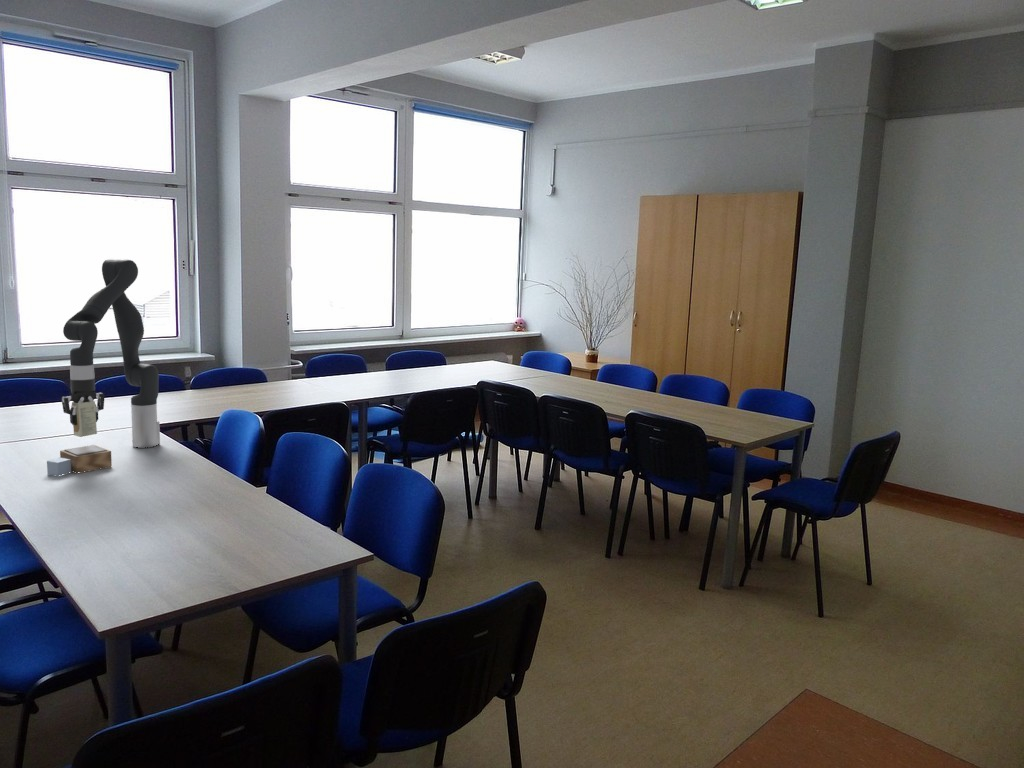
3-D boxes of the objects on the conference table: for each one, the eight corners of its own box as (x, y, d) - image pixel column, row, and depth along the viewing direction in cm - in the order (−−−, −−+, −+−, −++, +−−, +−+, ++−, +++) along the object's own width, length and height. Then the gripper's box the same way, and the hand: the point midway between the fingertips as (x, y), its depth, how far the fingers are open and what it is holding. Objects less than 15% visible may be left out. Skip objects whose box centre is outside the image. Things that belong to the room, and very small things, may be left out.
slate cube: (60, 471, 265) (59, 457, 264) (71, 473, 264) (70, 459, 263) (47, 474, 261) (46, 460, 260) (58, 476, 259) (57, 462, 258)
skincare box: (90, 432, 273) (89, 399, 271) (97, 434, 271) (96, 401, 269) (72, 435, 268) (71, 401, 266) (79, 437, 266) (78, 403, 264)
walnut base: (95, 460, 280) (94, 444, 278) (111, 467, 273) (111, 449, 272) (60, 467, 270) (59, 449, 269) (77, 473, 263) (76, 455, 262)
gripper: (98, 374, 274) (99, 419, 277) (55, 377, 262) (58, 424, 265) (108, 376, 270) (110, 422, 272) (66, 380, 258) (68, 428, 261)
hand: (84, 423), depth 269 cm, fingers closed on skincare box, 6 cm apart
